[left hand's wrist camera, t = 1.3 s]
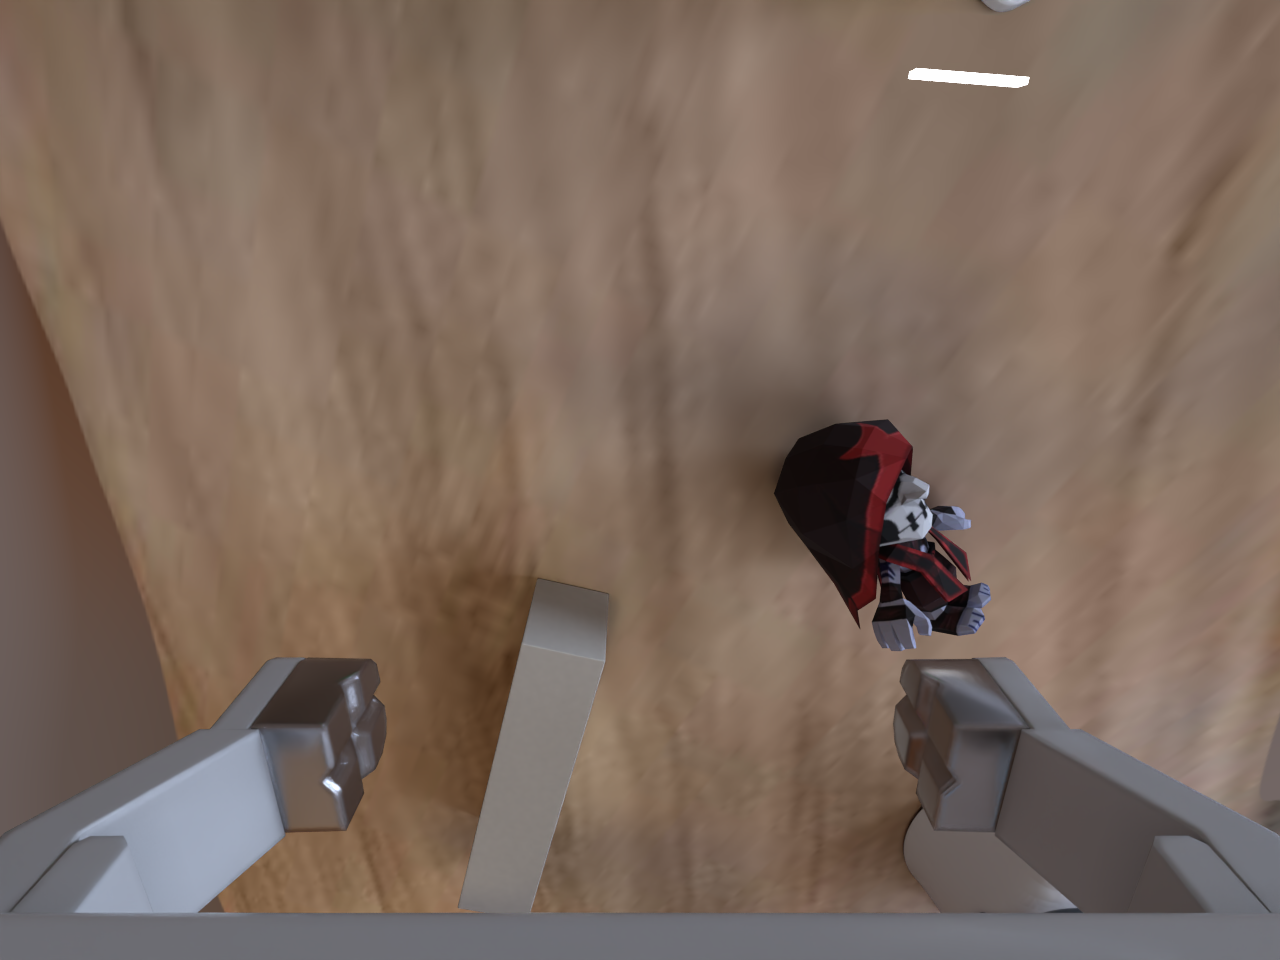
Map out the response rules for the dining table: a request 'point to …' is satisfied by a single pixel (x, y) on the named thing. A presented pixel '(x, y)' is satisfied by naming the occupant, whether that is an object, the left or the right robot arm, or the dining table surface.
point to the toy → (879, 531)
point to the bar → (536, 746)
